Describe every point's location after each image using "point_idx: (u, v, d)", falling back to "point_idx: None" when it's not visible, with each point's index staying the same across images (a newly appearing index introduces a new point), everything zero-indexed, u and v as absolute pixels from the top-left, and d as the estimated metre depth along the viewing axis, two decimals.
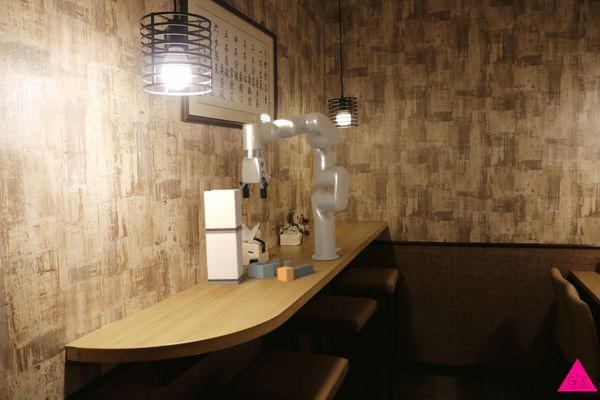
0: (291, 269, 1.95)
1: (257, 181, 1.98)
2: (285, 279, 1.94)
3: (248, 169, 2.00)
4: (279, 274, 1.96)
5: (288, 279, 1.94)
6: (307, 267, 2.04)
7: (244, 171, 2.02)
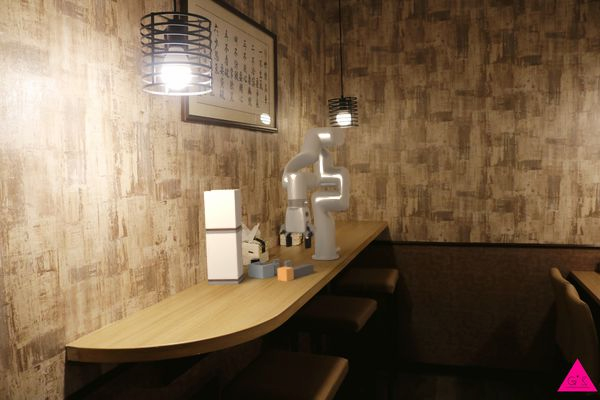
0: (291, 269, 1.95)
1: (302, 231, 1.97)
2: (285, 279, 1.94)
3: (292, 218, 1.99)
4: (279, 274, 1.96)
5: (288, 279, 1.94)
6: (307, 267, 2.04)
7: (288, 220, 2.01)
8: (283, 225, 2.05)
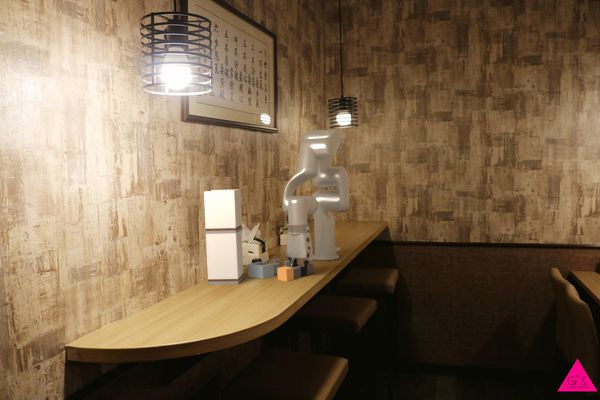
0: (291, 269, 1.95)
1: (303, 257, 1.98)
2: (285, 279, 1.94)
3: (294, 244, 2.00)
4: (279, 274, 1.96)
5: (288, 279, 1.94)
6: (307, 267, 2.04)
7: (289, 245, 2.02)
8: None
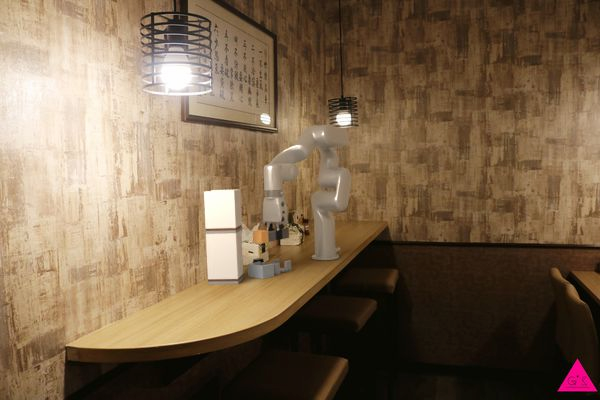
0: (265, 232, 2.02)
1: (278, 220, 2.06)
2: (260, 241, 2.01)
3: (269, 208, 2.08)
4: (254, 237, 2.03)
5: (263, 241, 2.01)
6: (282, 231, 2.11)
7: (265, 210, 2.09)
8: None
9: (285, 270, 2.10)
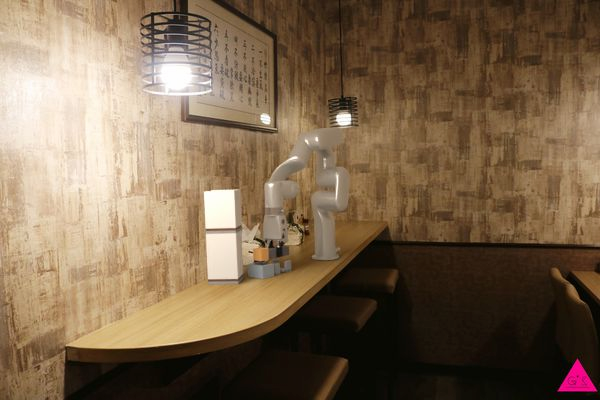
0: (266, 250, 2.03)
1: (278, 238, 2.06)
2: (260, 259, 2.01)
3: (269, 226, 2.08)
4: (255, 254, 2.03)
5: (263, 259, 2.01)
6: (282, 248, 2.11)
7: (265, 227, 2.10)
8: (264, 236, 2.13)
9: (285, 270, 2.10)
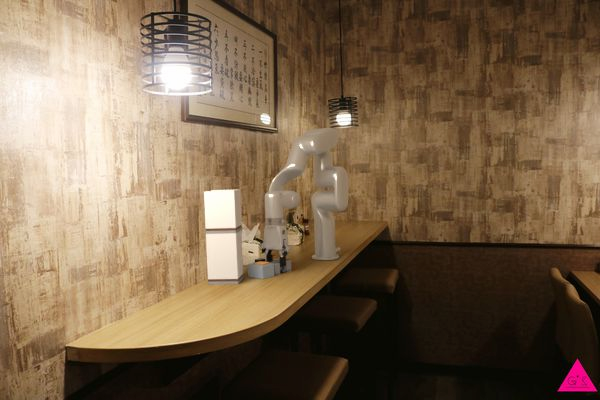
0: None
1: (279, 248, 2.06)
2: None
3: (270, 236, 2.08)
4: None
5: None
6: None
7: (266, 238, 2.10)
8: (263, 244, 2.14)
9: (285, 270, 2.10)
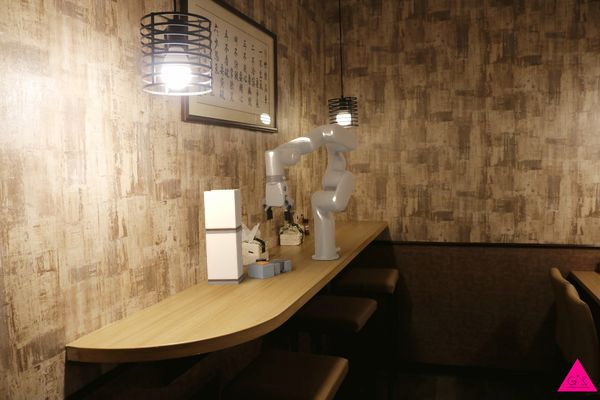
0: None
1: (281, 204, 2.12)
2: None
3: (272, 193, 2.13)
4: None
5: None
6: None
7: (268, 195, 2.15)
8: (263, 200, 2.19)
9: (285, 270, 2.10)
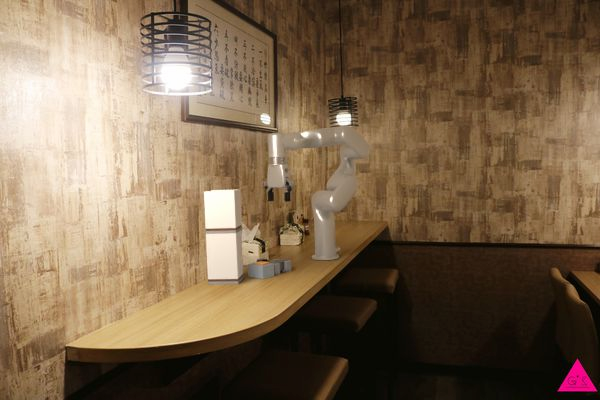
0: None
1: (282, 186, 2.18)
2: None
3: (273, 174, 2.20)
4: None
5: None
6: None
7: (269, 176, 2.22)
8: (265, 181, 2.26)
9: (285, 270, 2.10)
